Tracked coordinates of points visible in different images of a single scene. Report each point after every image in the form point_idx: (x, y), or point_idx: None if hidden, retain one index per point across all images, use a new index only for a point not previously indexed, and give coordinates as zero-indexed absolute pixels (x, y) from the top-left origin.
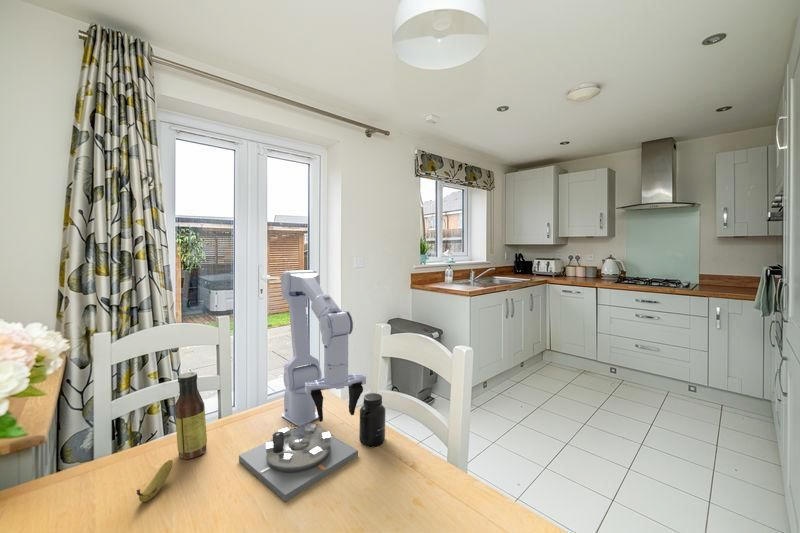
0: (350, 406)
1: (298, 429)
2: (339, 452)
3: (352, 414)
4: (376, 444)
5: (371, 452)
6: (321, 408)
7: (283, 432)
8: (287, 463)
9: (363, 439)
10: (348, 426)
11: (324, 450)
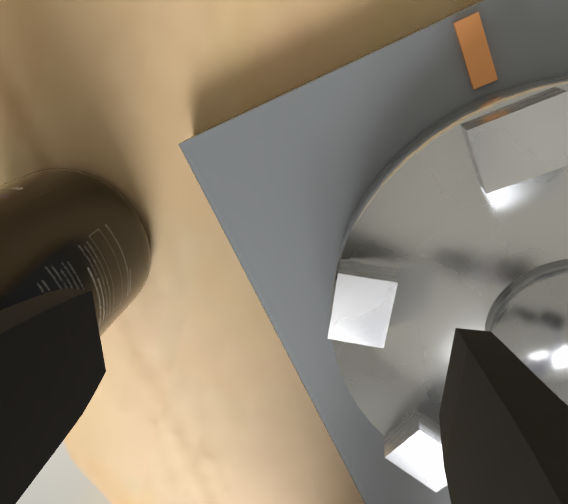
0: (43, 390)
1: None
2: (301, 175)
3: (73, 291)
4: (59, 170)
5: (108, 134)
6: (560, 459)
7: None
8: None
9: (120, 226)
10: (180, 415)
11: (427, 161)
